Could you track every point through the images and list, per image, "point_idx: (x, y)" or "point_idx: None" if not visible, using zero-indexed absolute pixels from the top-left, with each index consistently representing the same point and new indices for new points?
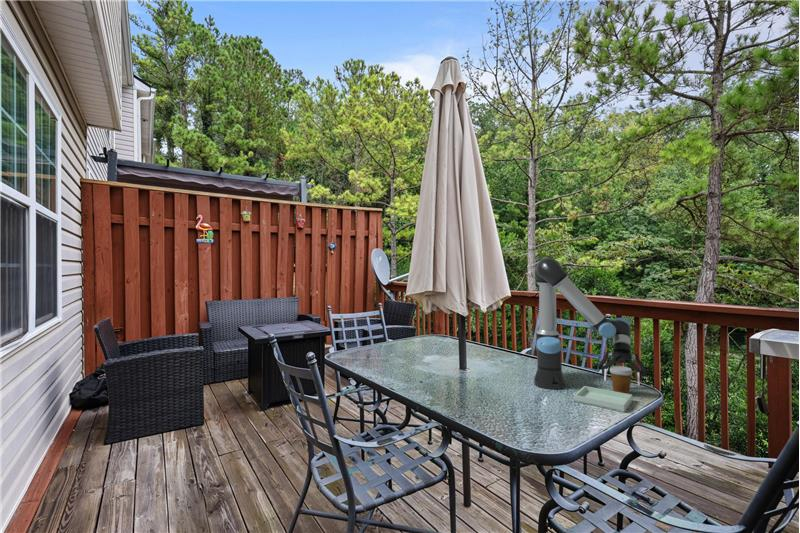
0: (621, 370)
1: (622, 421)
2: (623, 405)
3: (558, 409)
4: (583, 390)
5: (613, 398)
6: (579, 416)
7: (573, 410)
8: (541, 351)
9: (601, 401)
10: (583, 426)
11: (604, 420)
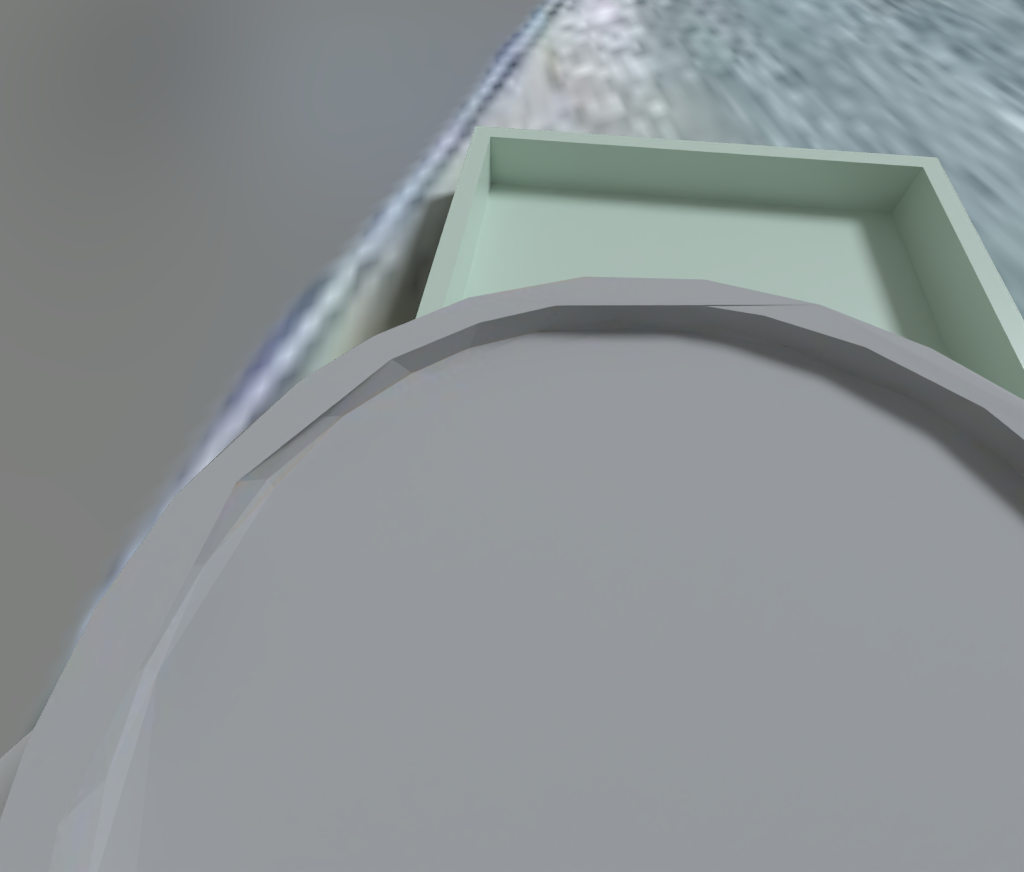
0: (597, 436)
1: (482, 87)
2: (480, 128)
3: (878, 89)
4: (999, 382)
5: None
6: (720, 63)
7: (794, 106)
8: None
9: (664, 145)
10: (653, 3)
11: (579, 68)
